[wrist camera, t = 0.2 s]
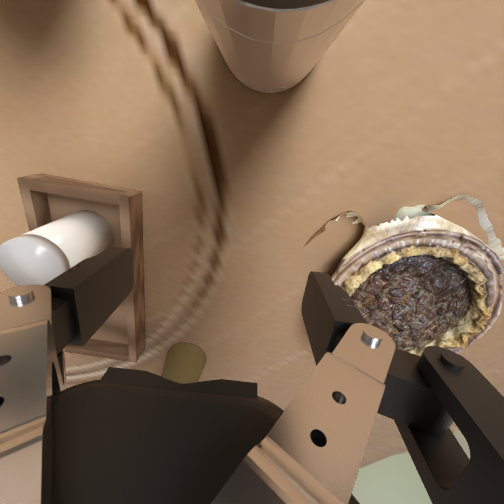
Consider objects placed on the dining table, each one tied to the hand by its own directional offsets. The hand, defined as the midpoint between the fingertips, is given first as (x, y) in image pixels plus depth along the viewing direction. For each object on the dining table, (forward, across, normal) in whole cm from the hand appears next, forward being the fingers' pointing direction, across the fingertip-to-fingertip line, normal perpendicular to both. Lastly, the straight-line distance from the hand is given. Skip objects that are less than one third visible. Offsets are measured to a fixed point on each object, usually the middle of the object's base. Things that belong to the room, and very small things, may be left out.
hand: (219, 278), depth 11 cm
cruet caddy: (+19, +17, +12) cm, 28 cm away
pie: (+19, -21, +10) cm, 30 cm away
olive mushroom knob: (+20, +6, +26) cm, 33 cm away
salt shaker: (+17, +17, +6) cm, 25 cm away
